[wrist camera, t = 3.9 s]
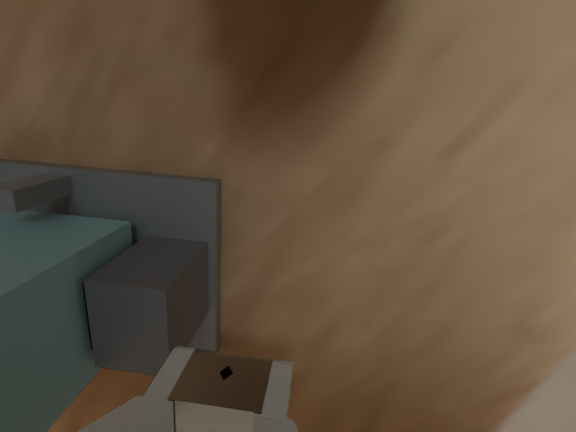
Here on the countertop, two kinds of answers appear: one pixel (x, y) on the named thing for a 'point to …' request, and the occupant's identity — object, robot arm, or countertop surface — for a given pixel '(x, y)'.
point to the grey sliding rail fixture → (137, 256)
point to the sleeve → (48, 311)
